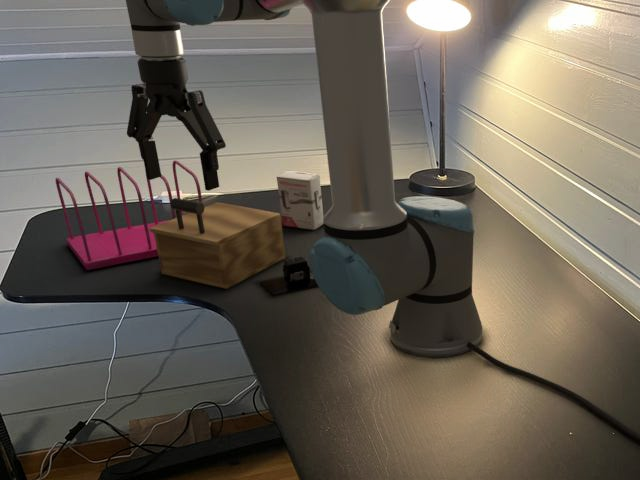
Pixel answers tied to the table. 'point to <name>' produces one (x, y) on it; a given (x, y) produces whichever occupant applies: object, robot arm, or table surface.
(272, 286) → the black angular piece
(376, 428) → the table surface
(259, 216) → the chest lid
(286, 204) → the ink box
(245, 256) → the chest
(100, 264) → the file sorter
